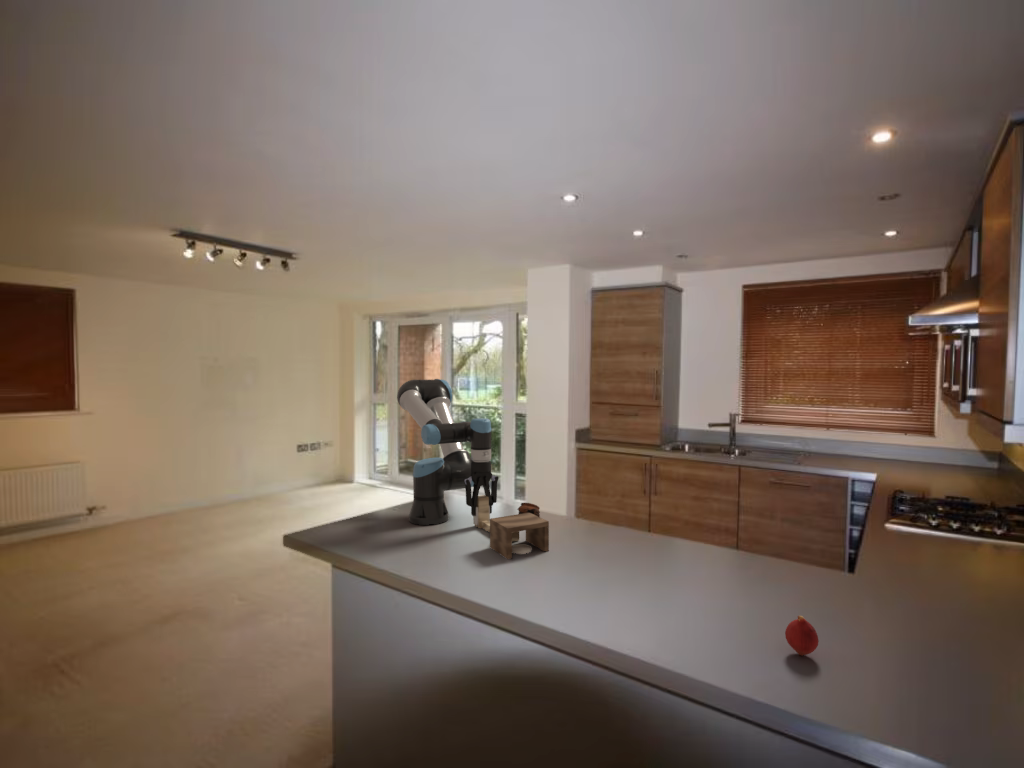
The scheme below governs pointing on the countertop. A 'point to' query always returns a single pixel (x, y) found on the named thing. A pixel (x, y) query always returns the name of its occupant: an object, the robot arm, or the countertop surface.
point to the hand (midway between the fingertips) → (481, 523)
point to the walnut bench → (506, 525)
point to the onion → (801, 636)
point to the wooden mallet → (487, 516)
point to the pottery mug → (529, 509)
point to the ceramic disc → (521, 548)
